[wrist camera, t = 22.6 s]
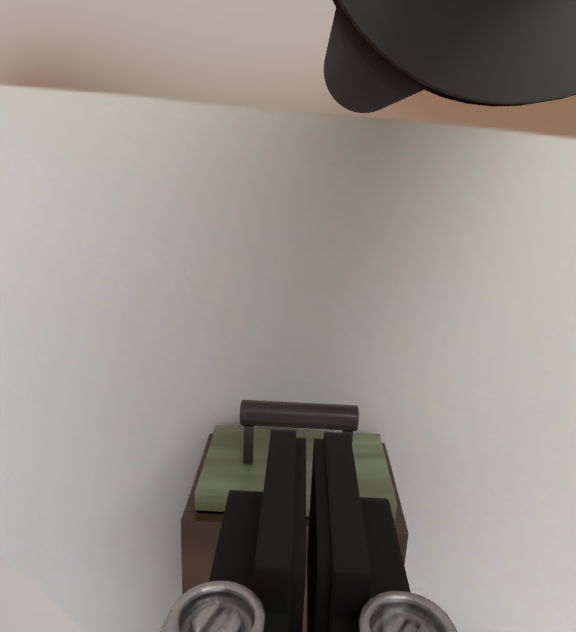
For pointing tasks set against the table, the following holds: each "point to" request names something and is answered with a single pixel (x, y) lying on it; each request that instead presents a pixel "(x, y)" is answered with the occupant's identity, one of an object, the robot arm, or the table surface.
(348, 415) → the drawer
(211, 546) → the cabinet
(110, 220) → the table surface
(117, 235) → the table surface
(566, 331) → the table surface
